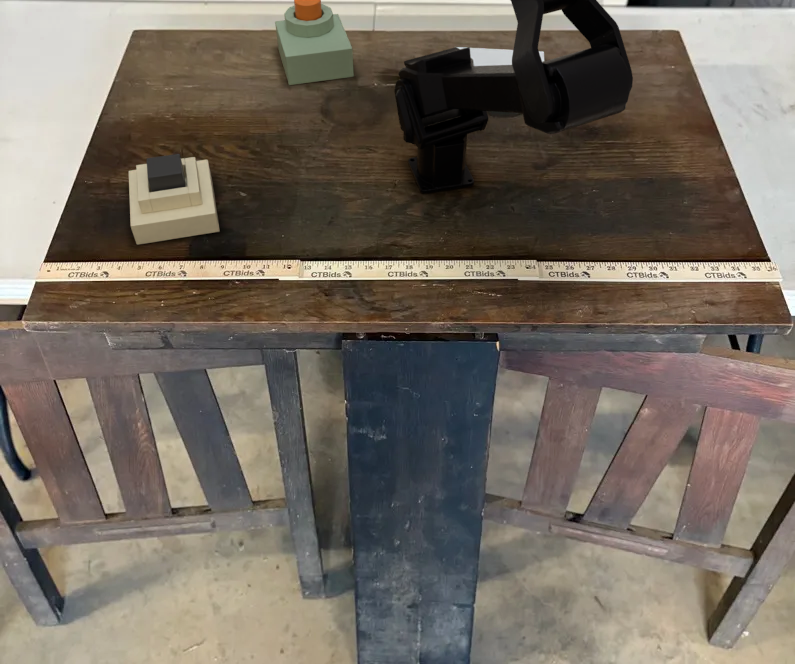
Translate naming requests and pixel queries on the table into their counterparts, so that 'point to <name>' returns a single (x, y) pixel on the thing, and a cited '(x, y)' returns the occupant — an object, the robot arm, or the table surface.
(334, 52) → the far pedestal
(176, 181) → the near key
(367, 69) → the table surface
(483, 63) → the hard drive
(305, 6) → the far key
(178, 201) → the stepped pyramid pedestal
